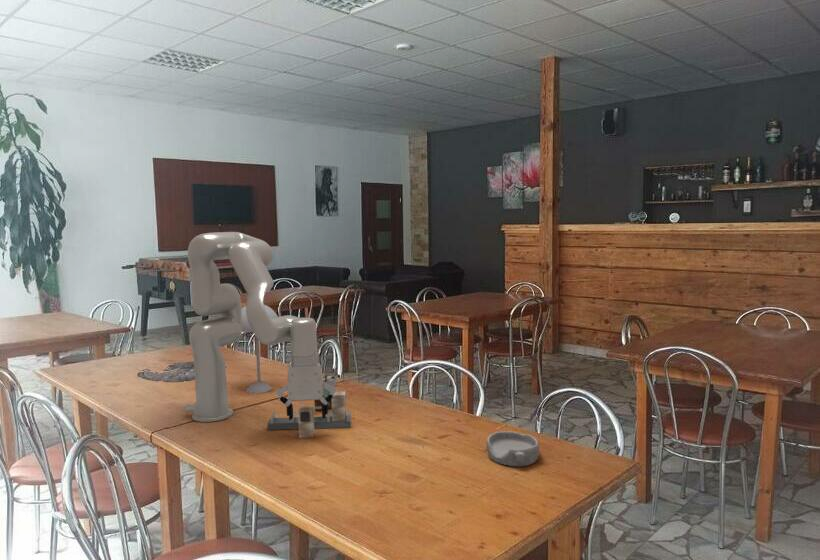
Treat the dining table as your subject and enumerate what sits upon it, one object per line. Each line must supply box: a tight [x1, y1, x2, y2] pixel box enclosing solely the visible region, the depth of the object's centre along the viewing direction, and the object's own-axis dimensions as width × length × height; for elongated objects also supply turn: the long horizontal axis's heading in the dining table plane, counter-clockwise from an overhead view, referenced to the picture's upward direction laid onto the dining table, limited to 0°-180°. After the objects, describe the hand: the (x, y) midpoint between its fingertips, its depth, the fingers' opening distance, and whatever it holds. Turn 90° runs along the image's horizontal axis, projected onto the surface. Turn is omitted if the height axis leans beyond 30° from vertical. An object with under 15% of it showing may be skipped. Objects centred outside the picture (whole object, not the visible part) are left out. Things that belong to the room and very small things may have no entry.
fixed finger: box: [329, 390, 347, 421], centre depth 183 cm, size 5×4×8 cm
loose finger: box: [297, 405, 315, 438], centre depth 175 cm, size 4×5×8 cm
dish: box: [486, 430, 540, 467], centre depth 158 cm, size 14×14×5 cm
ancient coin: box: [137, 360, 195, 383], centre depth 253 cm, size 33×35×1 cm
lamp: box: [241, 304, 279, 394], centre depth 222 cm, size 17×17×33 cm
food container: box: [313, 373, 338, 412], centre depth 201 cm, size 12×6×10 cm, turn 168°
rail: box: [266, 409, 352, 431], centre depth 183 cm, size 25×5×4 cm, turn 92°
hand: (307, 417), depth 175 cm, fingers open, 9 cm apart
